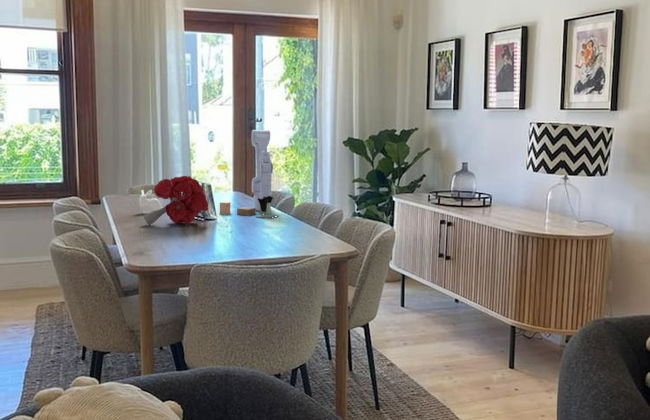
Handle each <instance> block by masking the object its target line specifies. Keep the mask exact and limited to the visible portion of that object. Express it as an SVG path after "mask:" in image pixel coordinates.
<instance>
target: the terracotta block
mask: <svg viewBox="0 0 650 420" xmlns="http://www.w3.org/2000/svg"><path fill="white" fill-rule="evenodd" d="M219 214H221V215H230V214H231V202H229V201H221V202H219Z"/></svg>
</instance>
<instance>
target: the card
mask: <svg viewBox="0 0 650 420" xmlns="http://www.w3.org/2000/svg"><path fill="white" fill-rule="evenodd" d="M277 215H278V214H271V213H270V214H264V215H262V214H259V215H256V216H255V218H256V217H258V218H257V219H265V218H271V219H273V218H272V217H275V216H277ZM278 216H279V217H280V215H278ZM275 218H276V217H275Z"/></svg>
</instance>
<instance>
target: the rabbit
mask: <svg viewBox="0 0 650 420" xmlns="http://www.w3.org/2000/svg"><path fill="white" fill-rule="evenodd" d="M144 191H145V190H144V189H141V191H140V194H141V195H139V198H138V202H139V207H140V208H141V209H142V210H143V211H142V214H144V215H146V214H148V213H150V212H153V211H156V210H159V209H162V208H164V207H163V206H162V203H161V201H160V200H159V198H158V199H157V198H155V197H154V198H153V197H152V198H147V197H148V196H150V195H152V194H153V190H152V189H149V190H148V191H146V192H144Z"/></svg>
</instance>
